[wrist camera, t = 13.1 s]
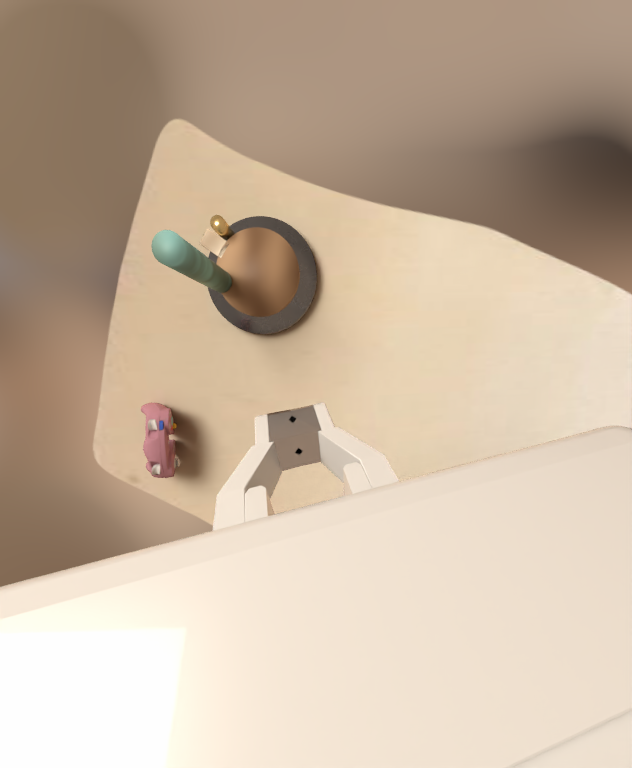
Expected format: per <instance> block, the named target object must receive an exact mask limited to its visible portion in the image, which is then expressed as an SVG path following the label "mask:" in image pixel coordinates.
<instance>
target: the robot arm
mask: <svg viewBox="0 0 632 768" xmlns="http://www.w3.org/2000/svg"><path fill="white" fill-rule="evenodd" d="M255 444H256V445H255V446H252V447H251V448H250V450H249V451H248V452H247V454H246V455H245V457H244V458H243V459H242V461H241V462H240V464H239V465H238V466H237V468H236V469H235V471H234V472H233V473H232V475H231V476H230V478H229V479H228V480H227V482H226V483H225V485H224V486H223V487H222V489H221V490H220V492H219V493H218V495H217V499H216V508H215V516H214V524H213V531H210V532H206V533H203V534H198V535H195V536H191V537H187V538H183V539H180V540H176V541H172V542H168V543H165V544H161V545H157V546H153V547H149V548H146V549H142V550H138V551H135V552H131V553H127V554H123V555H119V556H116V557H112V558H108V559H104V560H100V561H97V562H93V563H89V564H85V565H81V566H78V567H74V568H71V569H67V570H62V571H59V572H55V573H51V574H48V575H44V576H40V577H36V578H32V579H29V580H25V581H21V582H17V583H13V584H10V585H6V586H2V587H0V768H632V429H631V428H627V427H622V426H607V427H602V428H598V429H595V430H591V431H587V432H583V433H580V434H576V435H572V436H568V437H565V438H561V439H557V440H553V441H550V442H546V443H542V444H538V445H535V446H531V447H527V448H523V449H519V450H516V451H512V452H508V453H504V454H501V455H497V456H493V457H489V458H485V459H482V460H478V461H474V462H470V463H467V464H463V465H459V466H455V467H451V468H448V469H444V470H440V471H436V472H433V473H429V474H425V475H421V476H417V477H414V478H410V479H406V480H402V481H399V480H398V478H397V477H396V475H395V473H394V471H393V470H392V468H391V466H390V464H389V463H388V461H387V459H386V457H385V456H384V454H382V453H381V452H379V451H377V450H376V449H374V448H372V447H371V446H369V445H367V444H366V443H364V442H362V441H361V440H359V439H357V438H356V437H354V436H352V435H351V434H349V433H348V432H346V431H344V430H343V429H341V428H339V427H336V428H335V426H334V424H333V422H332V419H331V417H330V414H329V412H328V409H327V407H326V405H325V403H324V402H323V403H318V404H314V405H310V406H306V407H301V408H296V409H291V410H286V411H281V412H275V413H270V414H265V415H260V416H256V417H255ZM317 462H321V463H322V464H323V465H324V466H326V467H327V468H328V469H329V470H330V471H331V472H332V473H333V474H334V475H335V476H336V477H338V478H339V479H340V480H341V481H342V482H343V483H344V496H342V497H339V498H335V499H331V500H327V501H323V502H320V503H316V504H312V505H308V506H304V507H301V508H297V509H293V510H289V511H285V512H282V513H278V514H274V511H273V508H272V505H271V502H270V498H271V496H272V494H273V491H274V489H275V487H276V484H277V482H278V480H279V478H280V475H281V473H282V471H284V470H288V469H291V468H295V467H299V466H303V465H308V464H312V463H317Z"/></svg>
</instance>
